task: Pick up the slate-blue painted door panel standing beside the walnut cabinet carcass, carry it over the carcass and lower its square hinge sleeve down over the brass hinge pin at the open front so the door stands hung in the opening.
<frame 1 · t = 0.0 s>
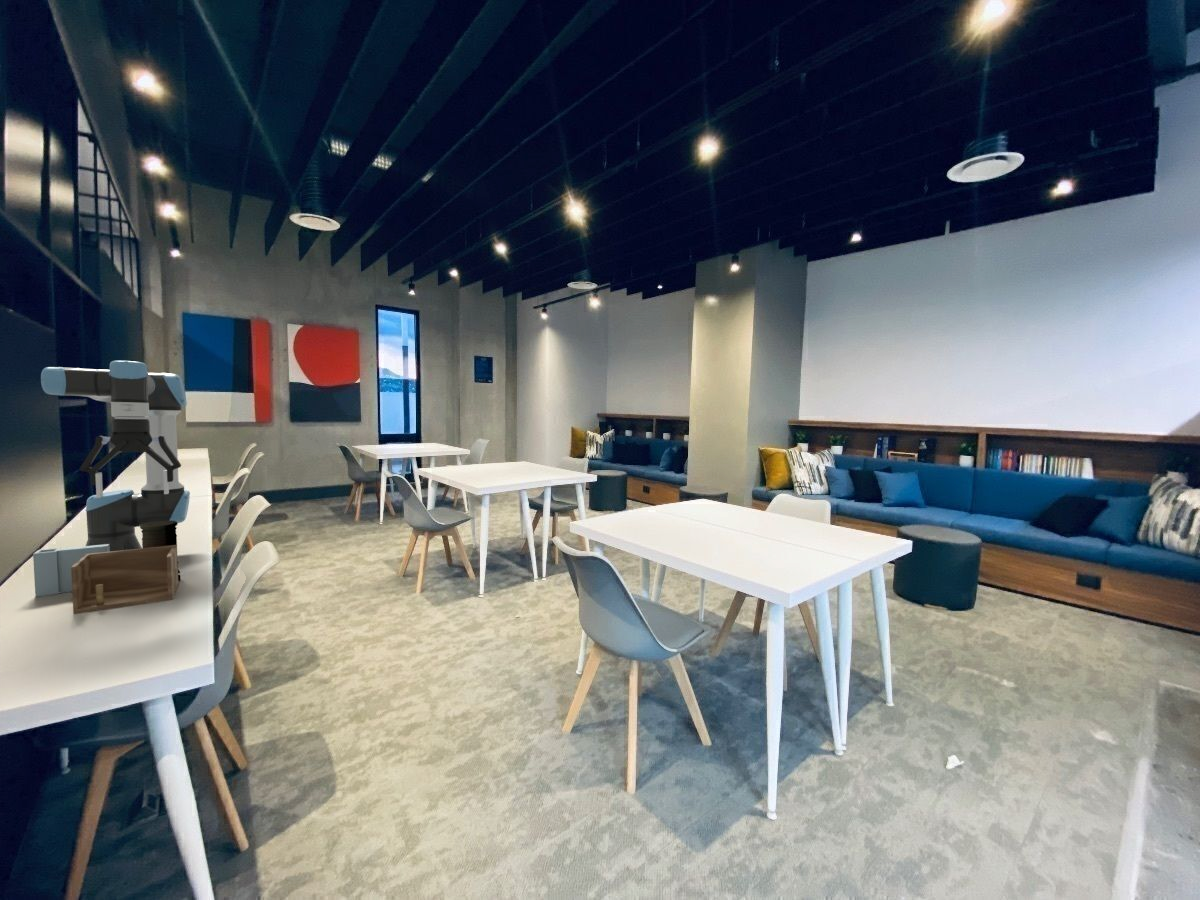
hand: (134, 495, 138), 28 cm above the table, fingers open, 13 cm apart
container: (161, 582, 150), on the table
door: (49, 592, 139), on the table
cabinet: (130, 598, 137), on the table
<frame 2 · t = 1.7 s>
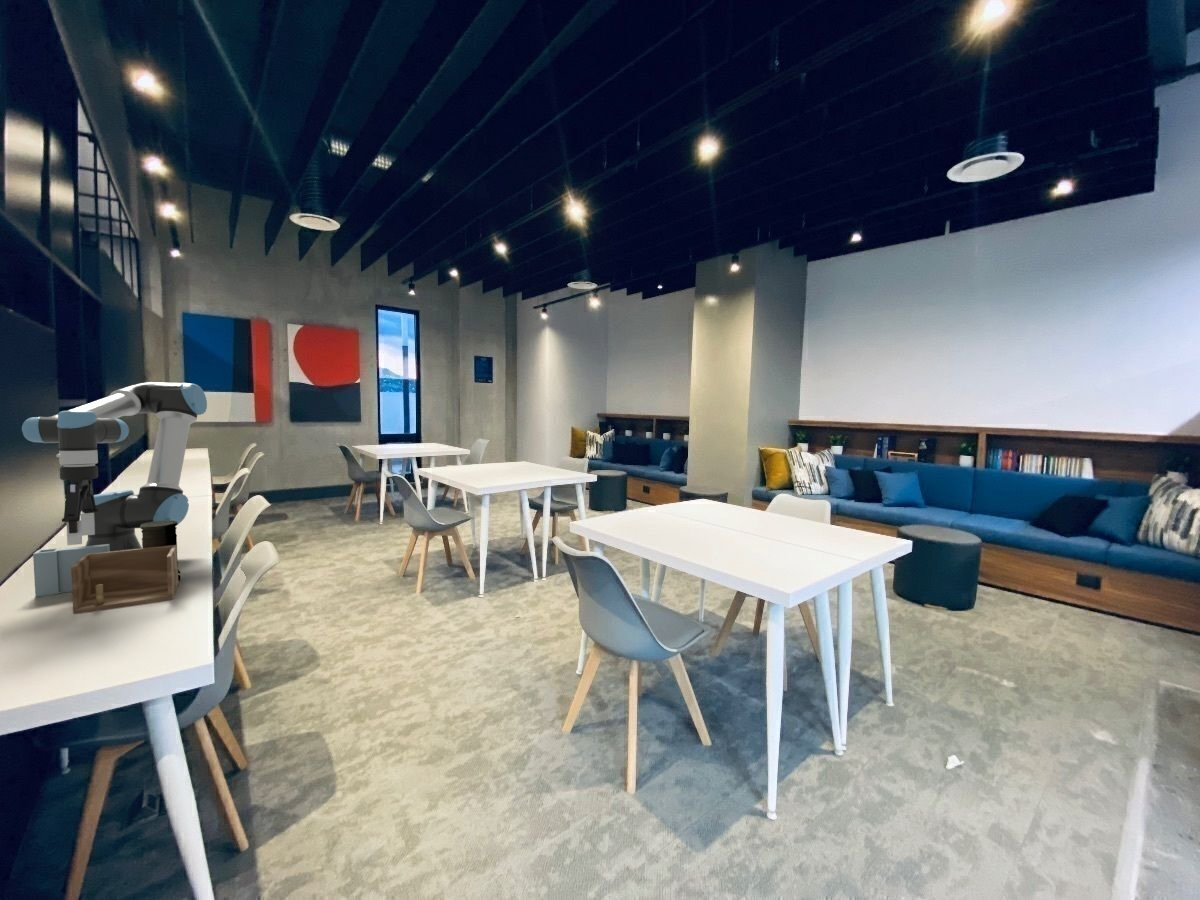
hand: (81, 539, 142), 14 cm above the table, fingers open, 13 cm apart
nothing on the table moved.
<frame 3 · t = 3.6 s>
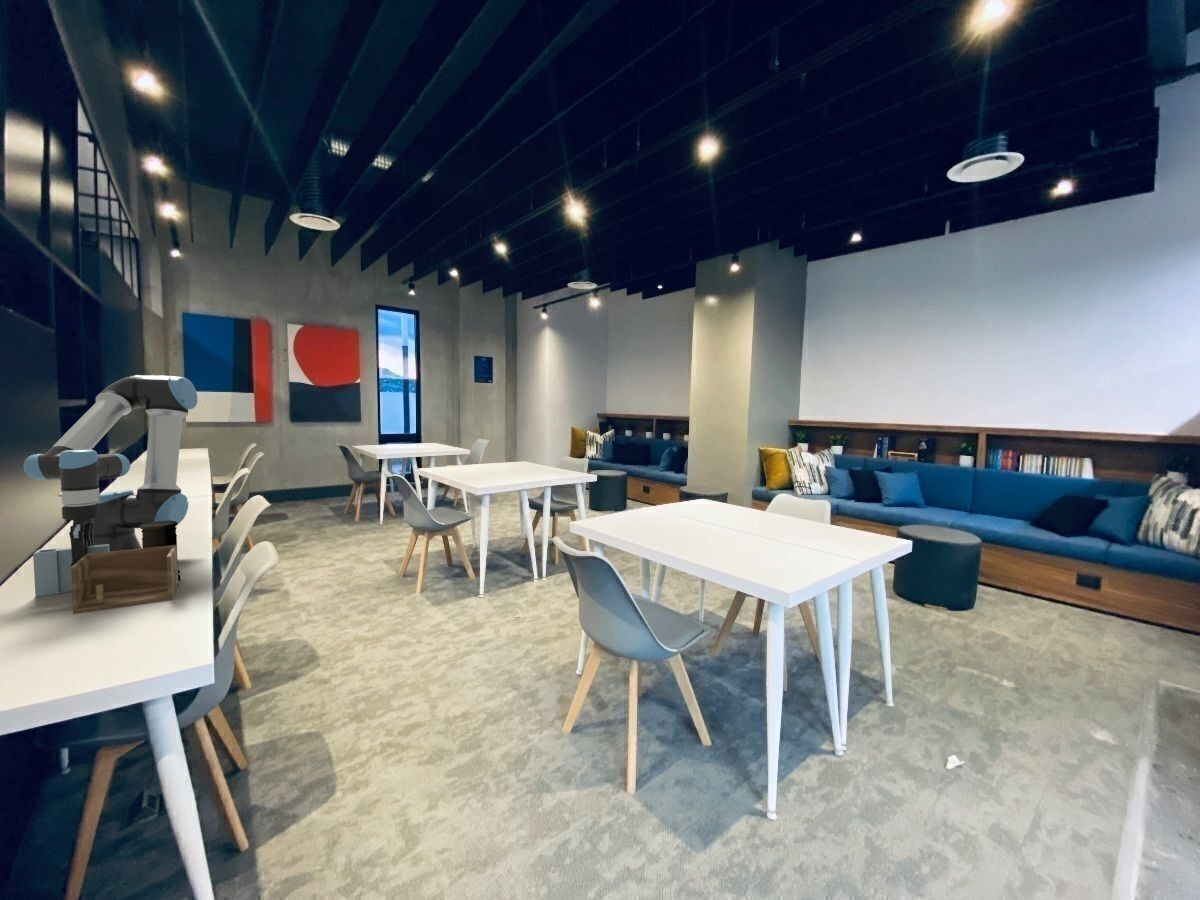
hand: (84, 584, 143), 1 cm above the table, fingers closed on door, 3 cm apart
door: (49, 592, 139), on the table, touching gripper
everything else where it was.
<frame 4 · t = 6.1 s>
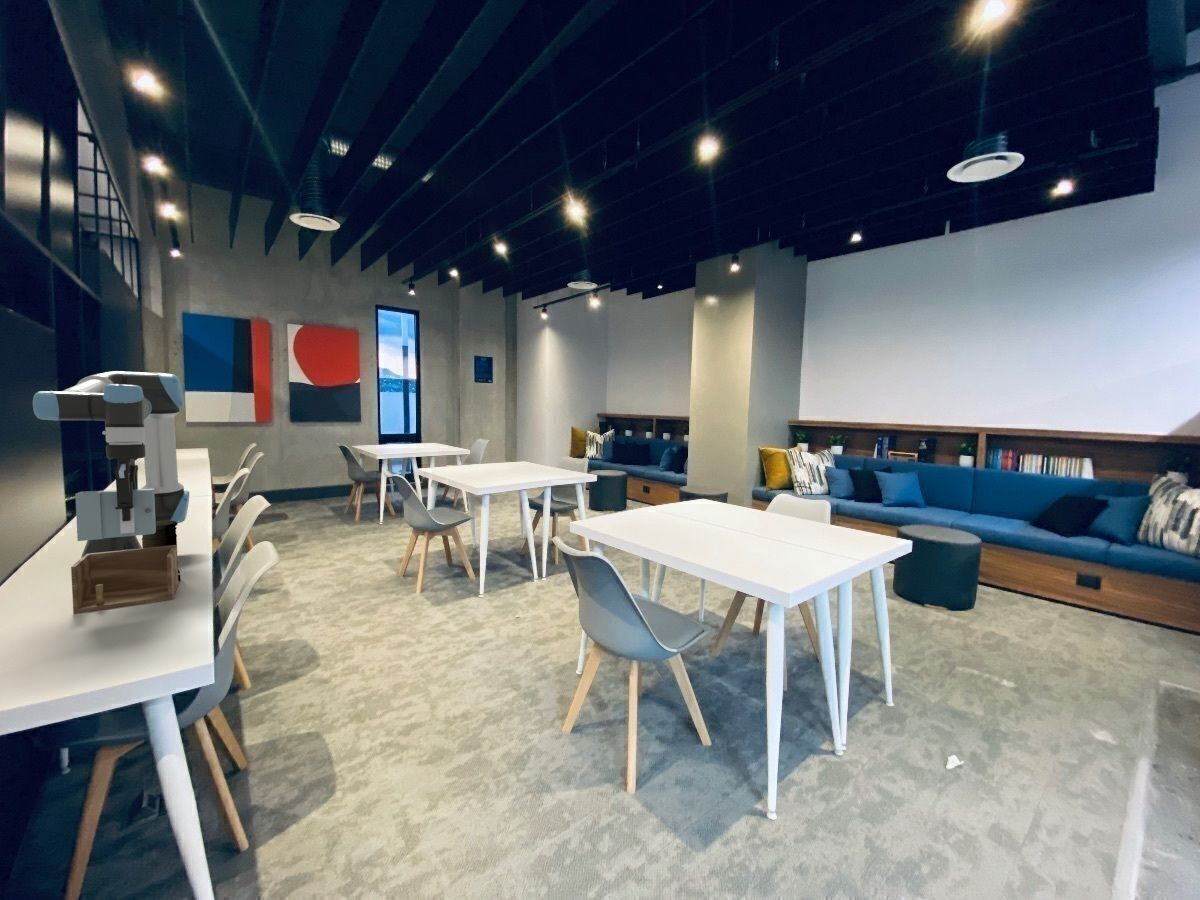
hand: (129, 531, 133), 19 cm above the table, fingers closed on door, 3 cm apart
door: (92, 538, 129), point 18 cm above the table, touching gripper
everything else where it was.
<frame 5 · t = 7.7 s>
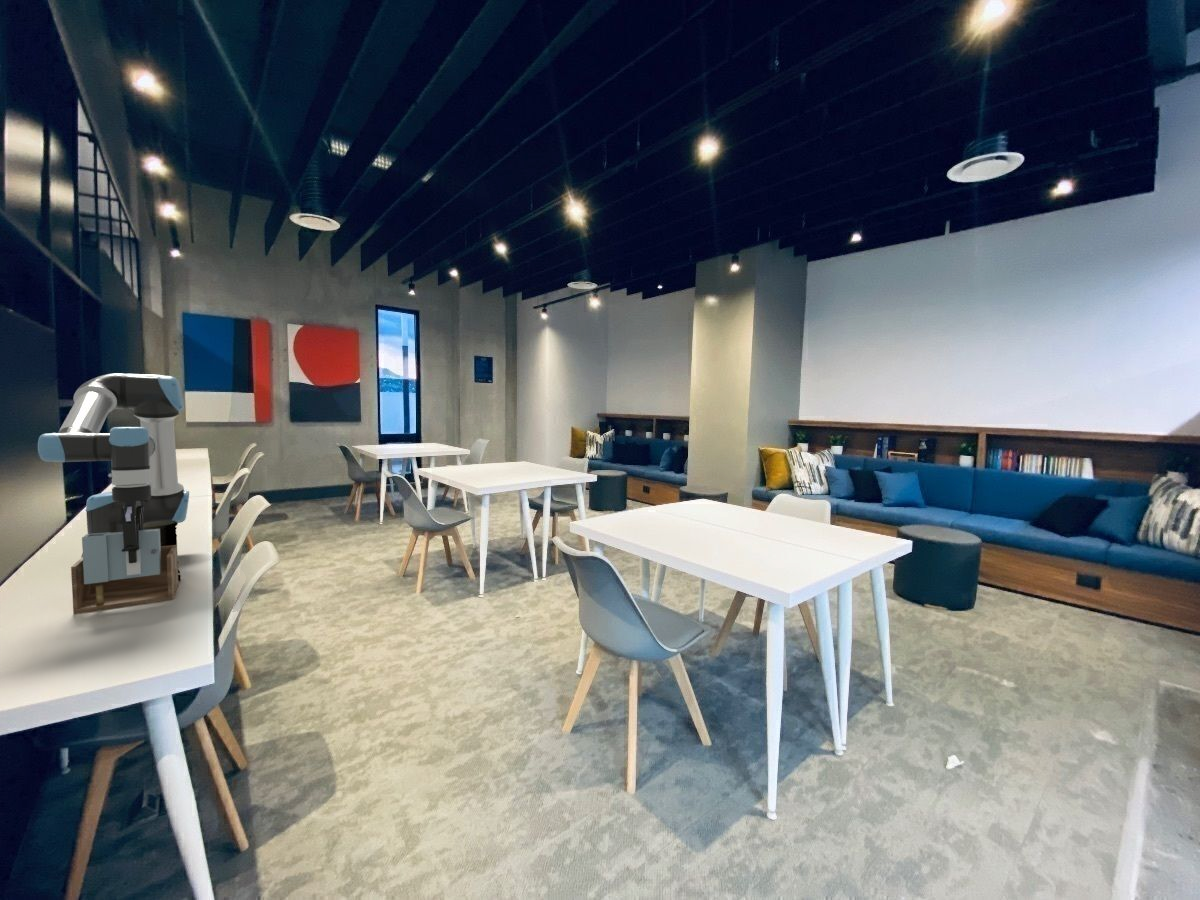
hand: (135, 572, 133), 8 cm above the table, fingers closed on door, 3 cm apart
door: (98, 580, 129), point 7 cm above the table, touching gripper
everything else where it was.
when the fingers open (3 cm above the table, at t = 9.0 s): door stays where it is, resting on cabinet.
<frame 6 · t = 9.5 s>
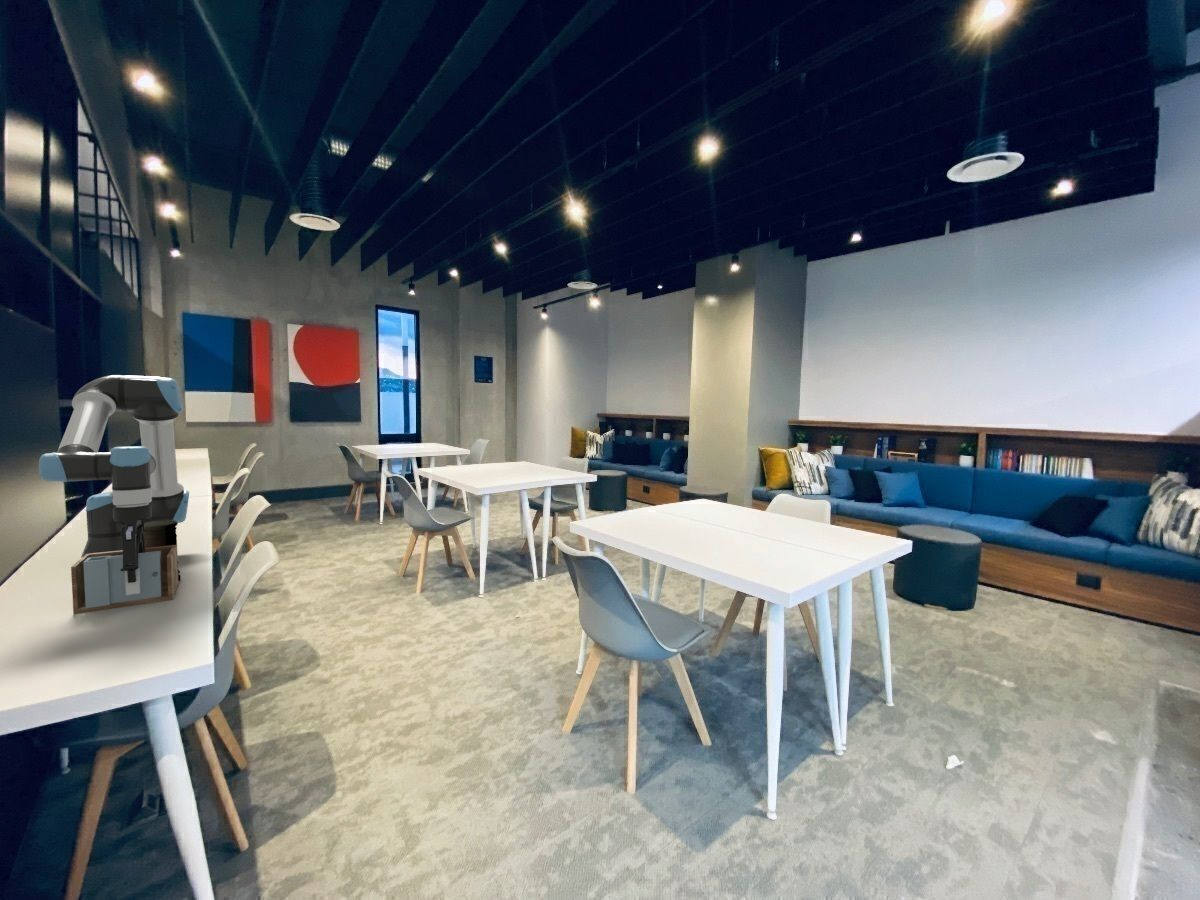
hand: (136, 589, 134), 4 cm above the table, fingers open, 7 cm apart
door: (99, 603, 130), point 1 cm above the table, touching cabinet
everything else where it was.
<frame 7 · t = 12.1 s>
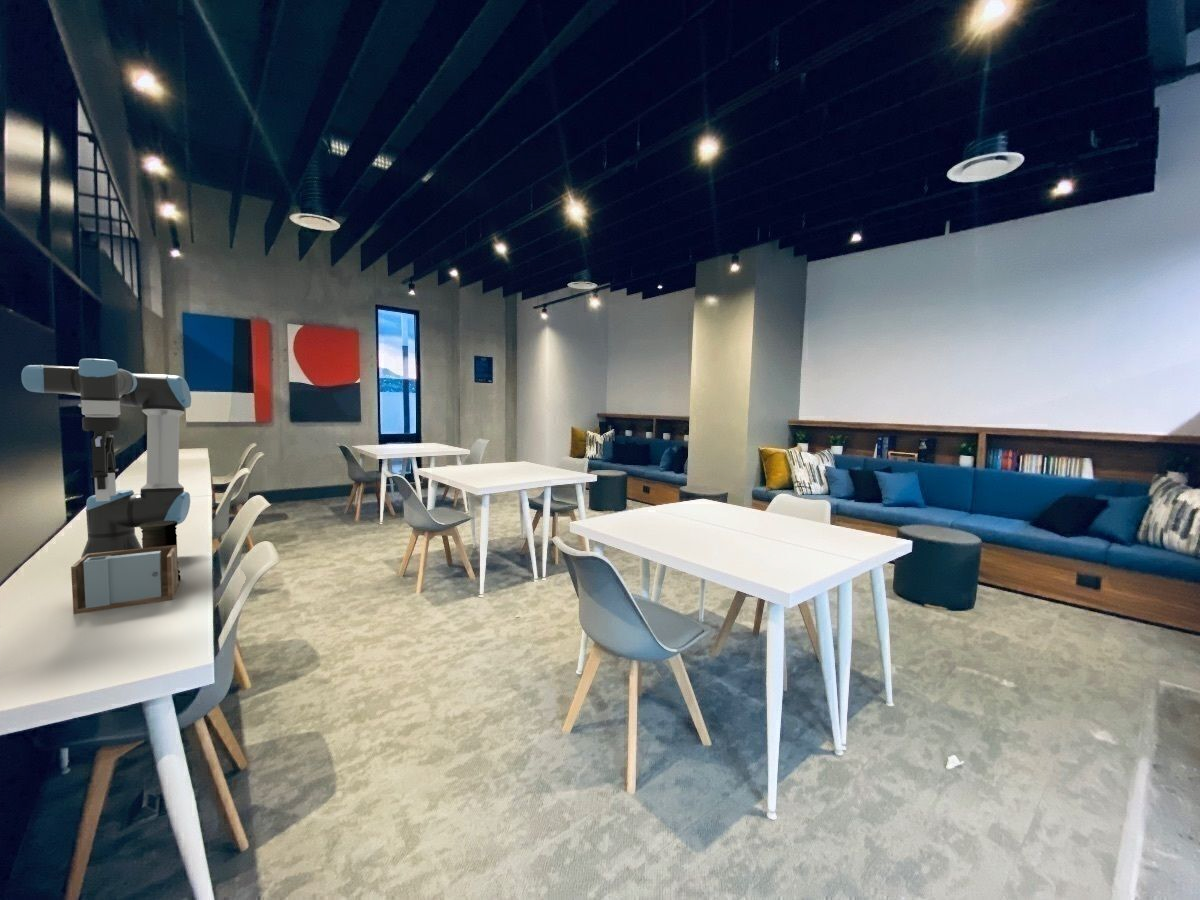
hand: (106, 498, 138), 27 cm above the table, fingers open, 8 cm apart
nothing on the table moved.
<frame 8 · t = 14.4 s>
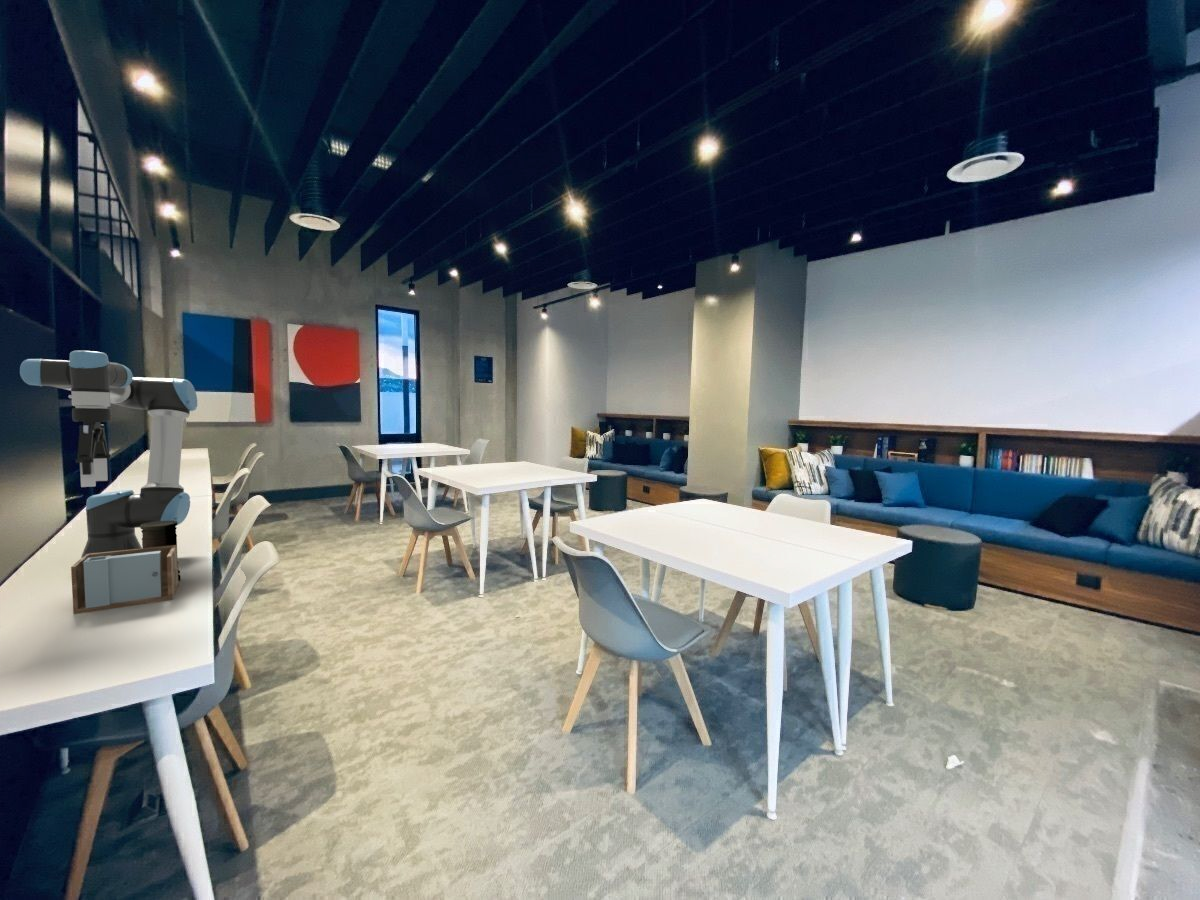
hand: (95, 483, 140), 31 cm above the table, fingers open, 13 cm apart
nothing on the table moved.
at the end: door 0.1 cm from the target spot on the cabinet, point 1.0 cm above the cabinet's base; door tilted 0°; the gripper is holding nothing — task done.
